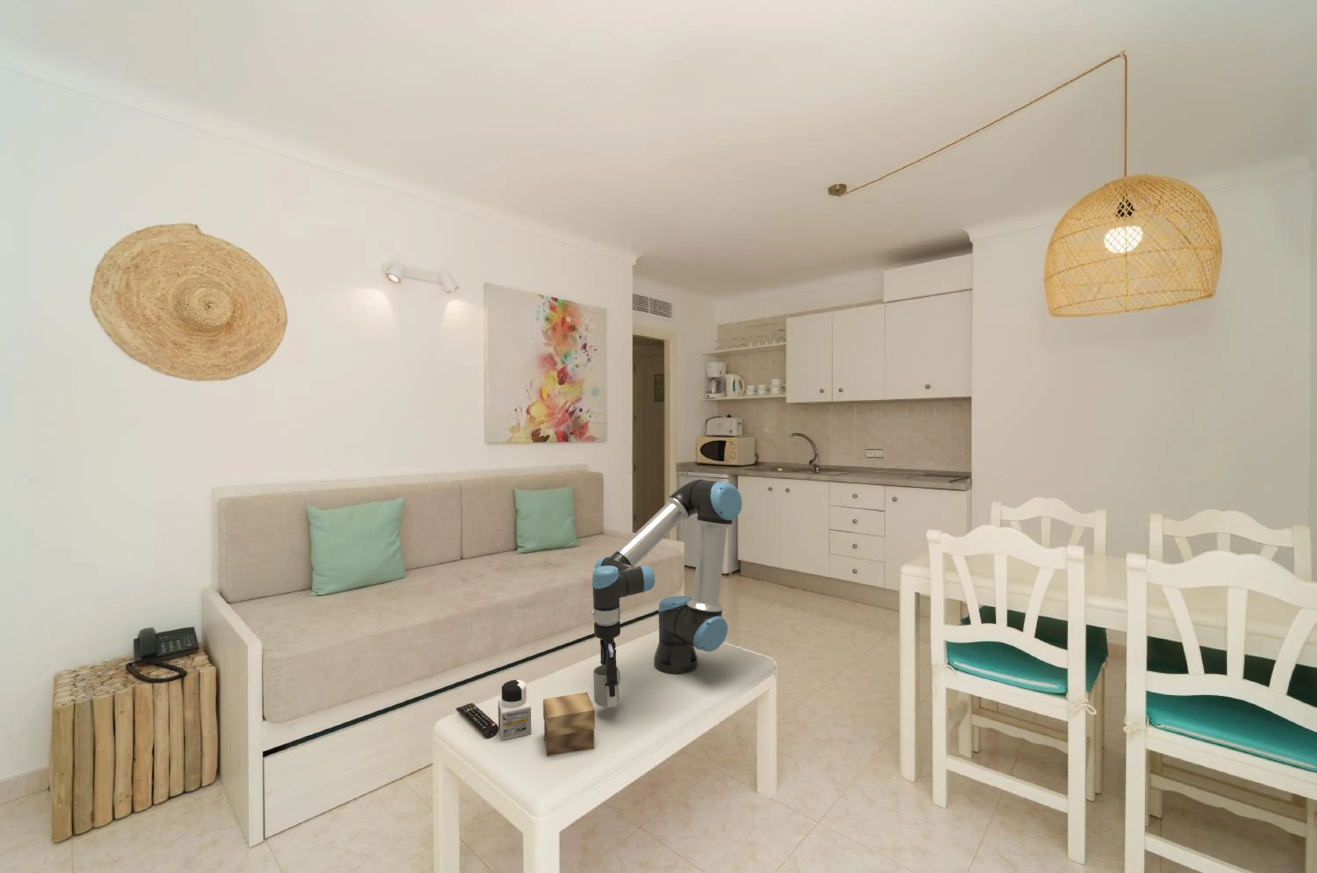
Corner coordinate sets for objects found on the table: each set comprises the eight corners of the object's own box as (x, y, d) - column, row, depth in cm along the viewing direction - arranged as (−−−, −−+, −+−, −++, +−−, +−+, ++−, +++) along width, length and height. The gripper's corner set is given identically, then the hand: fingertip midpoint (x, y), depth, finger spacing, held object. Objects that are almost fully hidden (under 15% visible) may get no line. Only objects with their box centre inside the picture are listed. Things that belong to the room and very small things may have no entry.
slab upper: (587, 710, 154) (587, 692, 153) (594, 728, 144) (594, 709, 144) (543, 717, 150) (543, 699, 150) (548, 737, 140) (547, 717, 140)
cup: (589, 703, 159) (588, 672, 159) (609, 687, 168) (608, 658, 167) (609, 709, 155) (608, 678, 155) (629, 693, 164) (628, 663, 163)
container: (502, 740, 147) (501, 692, 147) (498, 726, 154) (497, 680, 154) (531, 734, 150) (530, 686, 150) (526, 720, 157) (525, 674, 157)
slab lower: (588, 728, 153) (588, 711, 153) (594, 749, 144) (593, 730, 143) (544, 735, 150) (544, 717, 150) (546, 757, 140) (546, 737, 140)
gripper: (589, 610, 169) (591, 683, 170) (599, 637, 149) (602, 719, 150) (613, 607, 171) (616, 679, 172) (626, 633, 151) (629, 715, 152)
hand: (609, 698), depth 161 cm, fingers closed on cup, 8 cm apart
